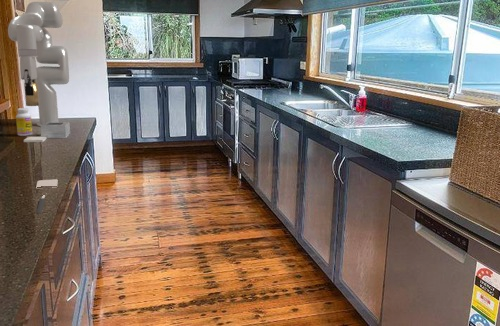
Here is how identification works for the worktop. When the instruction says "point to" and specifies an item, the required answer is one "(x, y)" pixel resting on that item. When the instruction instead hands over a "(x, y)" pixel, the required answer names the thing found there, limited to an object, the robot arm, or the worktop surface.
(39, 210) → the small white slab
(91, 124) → the worktop surface
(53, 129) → the housing
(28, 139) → the tile
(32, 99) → the tan capped cylinder
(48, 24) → the robot arm
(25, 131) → the supplement bottle
